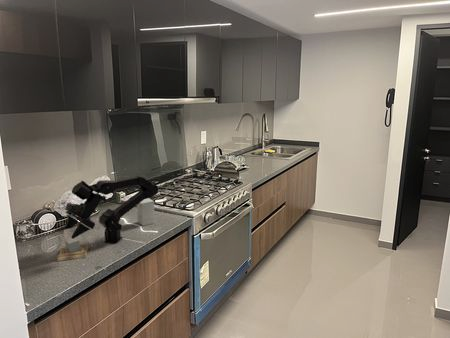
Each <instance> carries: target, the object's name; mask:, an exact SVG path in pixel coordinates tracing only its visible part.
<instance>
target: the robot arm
mask: <svg viewBox="0 0 450 338" xmlns="http://www.w3.org/2000/svg"><path fill="white" fill-rule="evenodd" d="M133 186H138V188H139V189H138V191H137V192H136V193H135V194H134V195H133V196H131V197H130V198H128V199H127V200H125V201H124V202H123V203H121V204H120V205H119V206H118V207H116V208H114V209H113V210H112V209H111V208H107V209H106V210H105V211H104V212H102V213H101V215H100V216H99V219H98V223H99V224H100V225H101V226H103V228H105V229H104V241H103V242H104V243H106V244H117V243H118V242H120V241H121V240H123V238H124V237H123V236H121V230H122V228H123V225H122V224H120V220H121V219H122V217H123V216H125V215H126V214H127V213H128V212H130V211H132V209H134V208H136V207H137V205H138V204H139V203H140V202H141V201H143V200H144V199H147V198H149V199H151V198H152V197H154V196H156V195H157V194H158V192H159V187H158V185H156V184H155V183H154V184H153V183H152V182H150V181H149V180H147V179H146V178H145V177H144V176H141V175H138V174H137V175H134V176H130V177H125V178H120V179H115V180H109V179H103V180H98V181H96V183H95V184H94V183H93V184H91V185H88V184H87V182H85V181H84V180H81V181H80V182H79V183H76V185H74V186H73V187H72V189H71V194H73V195H74V196H76V197H77V198H79V199H80V200H82V201H84V202H80V204H77V203H71V202H67V203H66V206H65V209H64V210H65V211H66V212H65V213H66V215H65V216H66V220H67V221H66V223H65V226H64V228H63V233H64V230H65V229H69V228H73V227H75V226H76V227H75V228H76V230H75V231H74V233H73V235H72V237H71V238H73V239H74V238H75V237H77V236H79V237H80V235H82V234H84V233H86V232H87V231H90V230H94V228H95V227H96V222H94V221H92V220H91V218H90V217H91V216H92V215H93V214H96V212H97V211H96V209H97V208H98V207H99V205H100V204H101V202H104V203H107V195H110V194H112V193H114V192H116V191H117V190H119V189H120V190H121V189H125V188H127V187H128V188H129V187H133ZM76 219H77V220H79V221H80V222H81V223H80V222H78V221H77V220H76Z"/></svg>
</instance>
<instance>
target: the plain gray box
mask: <svg viewBox="0 0 450 338" xmlns="http://www.w3.org/2000/svg"><path fill="white" fill-rule="evenodd" d="M76 228H77V227H75V226H73V227H72V228H69V229H65V230H64V229H63V231H64V232H63V236H64V242H65V244H64V245H65V246H66V251H67V252H68V253H74V252H79V251H81V250H80V244H81V243H80V235H79V236H77V237H75V238H74V239H73V238H71V237H72V235H73V233H74V231H75V230H76Z"/></svg>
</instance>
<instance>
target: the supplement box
mask: <svg viewBox="0 0 450 338" xmlns="http://www.w3.org/2000/svg"><path fill="white" fill-rule="evenodd" d="M136 210H137V222H138V223H139V225H141V226H142V227H144V226H149V225H152V224H156V216H155V201H154V200H152V199H151V198H147V199H144V200H143V201H141V202H140V203H139V204H138V205H136Z"/></svg>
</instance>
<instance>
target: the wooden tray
mask: <svg viewBox="0 0 450 338" xmlns="http://www.w3.org/2000/svg"><path fill="white" fill-rule="evenodd" d="M60 248H61V249H60V252H59V253H58V255H57V261H58V262H59V261H68V260H75V259H81V258H83V259H84V258H86V257H87V253H88V249H89V243H82V244H81V243H80V250H81V251H79V252H74V253H68V252H67V251H66V245H65V246H61V247H60Z"/></svg>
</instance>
